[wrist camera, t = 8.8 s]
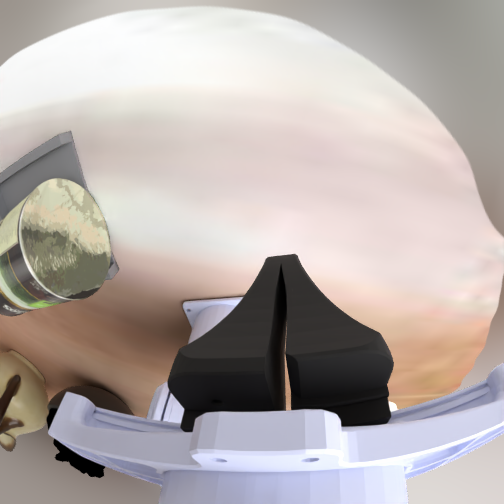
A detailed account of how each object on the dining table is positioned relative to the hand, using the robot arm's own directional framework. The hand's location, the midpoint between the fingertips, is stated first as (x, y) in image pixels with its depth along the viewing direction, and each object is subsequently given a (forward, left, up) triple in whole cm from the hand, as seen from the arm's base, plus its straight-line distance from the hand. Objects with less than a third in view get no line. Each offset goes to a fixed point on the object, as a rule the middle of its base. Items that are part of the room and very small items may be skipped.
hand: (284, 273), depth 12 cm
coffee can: (+2, +16, -5) cm, 17 cm away
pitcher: (-29, +65, -11) cm, 72 cm away
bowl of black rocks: (-33, +37, -11) cm, 51 cm away
